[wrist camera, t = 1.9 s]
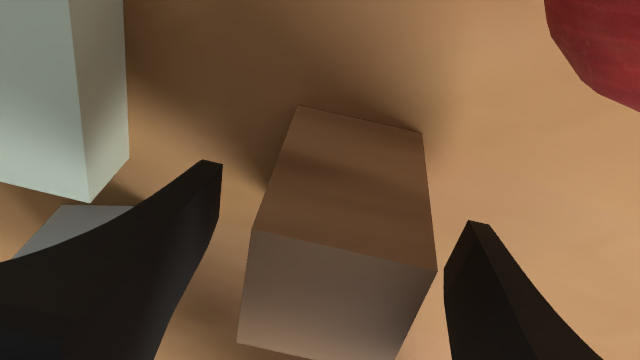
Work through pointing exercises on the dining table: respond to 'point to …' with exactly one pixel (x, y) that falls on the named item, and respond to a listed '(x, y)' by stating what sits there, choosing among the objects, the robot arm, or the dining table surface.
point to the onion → (600, 44)
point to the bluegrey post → (70, 225)
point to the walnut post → (340, 242)
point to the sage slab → (62, 95)
